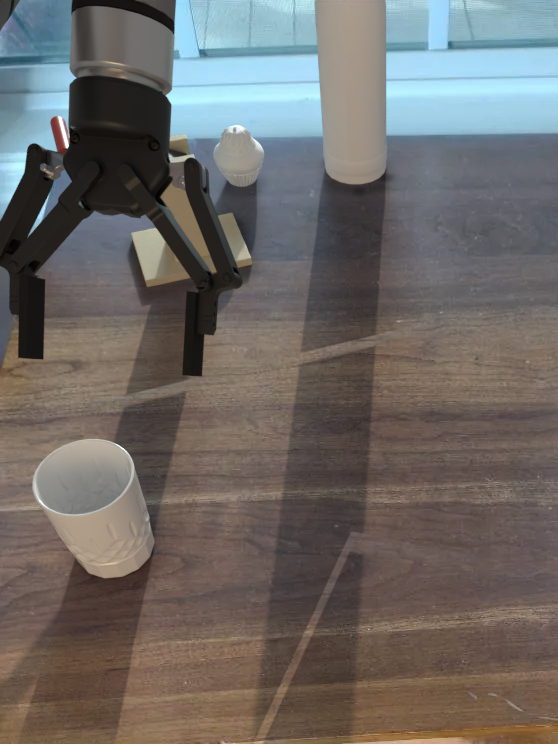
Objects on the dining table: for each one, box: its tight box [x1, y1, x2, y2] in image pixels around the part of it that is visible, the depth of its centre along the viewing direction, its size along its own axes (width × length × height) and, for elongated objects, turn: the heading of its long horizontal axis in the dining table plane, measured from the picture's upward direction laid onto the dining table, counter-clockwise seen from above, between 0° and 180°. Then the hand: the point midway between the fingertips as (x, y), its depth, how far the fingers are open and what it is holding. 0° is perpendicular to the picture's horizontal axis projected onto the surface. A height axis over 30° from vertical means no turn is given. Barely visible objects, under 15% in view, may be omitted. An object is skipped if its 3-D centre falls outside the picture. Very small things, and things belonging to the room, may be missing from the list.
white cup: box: [31, 438, 155, 579], centre depth 72 cm, size 8×8×10 cm
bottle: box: [313, 0, 388, 185], centre depth 97 cm, size 8×8×30 cm
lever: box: [49, 115, 187, 159], centre depth 88 cm, size 13×6×2 cm, turn 110°
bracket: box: [130, 133, 253, 288], centre depth 94 cm, size 12×9×13 cm
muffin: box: [212, 124, 265, 188], centre depth 105 cm, size 6×6×7 cm
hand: (111, 367), depth 70 cm, fingers open, 13 cm apart
